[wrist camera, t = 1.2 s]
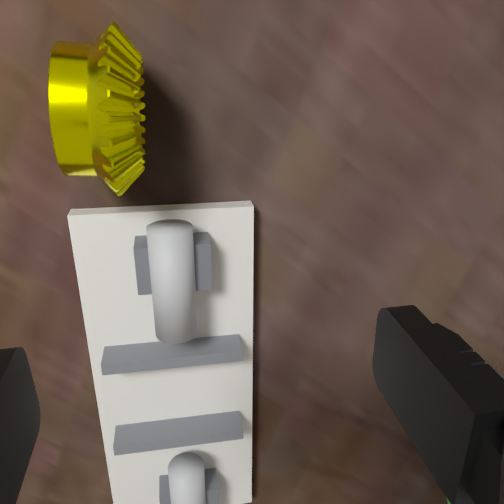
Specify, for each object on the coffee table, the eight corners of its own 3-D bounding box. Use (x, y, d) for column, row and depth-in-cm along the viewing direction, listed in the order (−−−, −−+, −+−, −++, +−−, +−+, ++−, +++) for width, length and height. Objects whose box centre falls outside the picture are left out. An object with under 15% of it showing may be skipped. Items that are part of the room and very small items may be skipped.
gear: (71, 22, 24) (33, 10, 17) (144, 28, 25) (136, 19, 18) (82, 173, 27) (53, 217, 20) (147, 174, 28) (141, 217, 21)
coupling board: (70, 209, 28) (55, 236, 24) (250, 200, 30) (264, 224, 26) (117, 509, 38) (112, 563, 34) (249, 489, 40) (258, 539, 36)
